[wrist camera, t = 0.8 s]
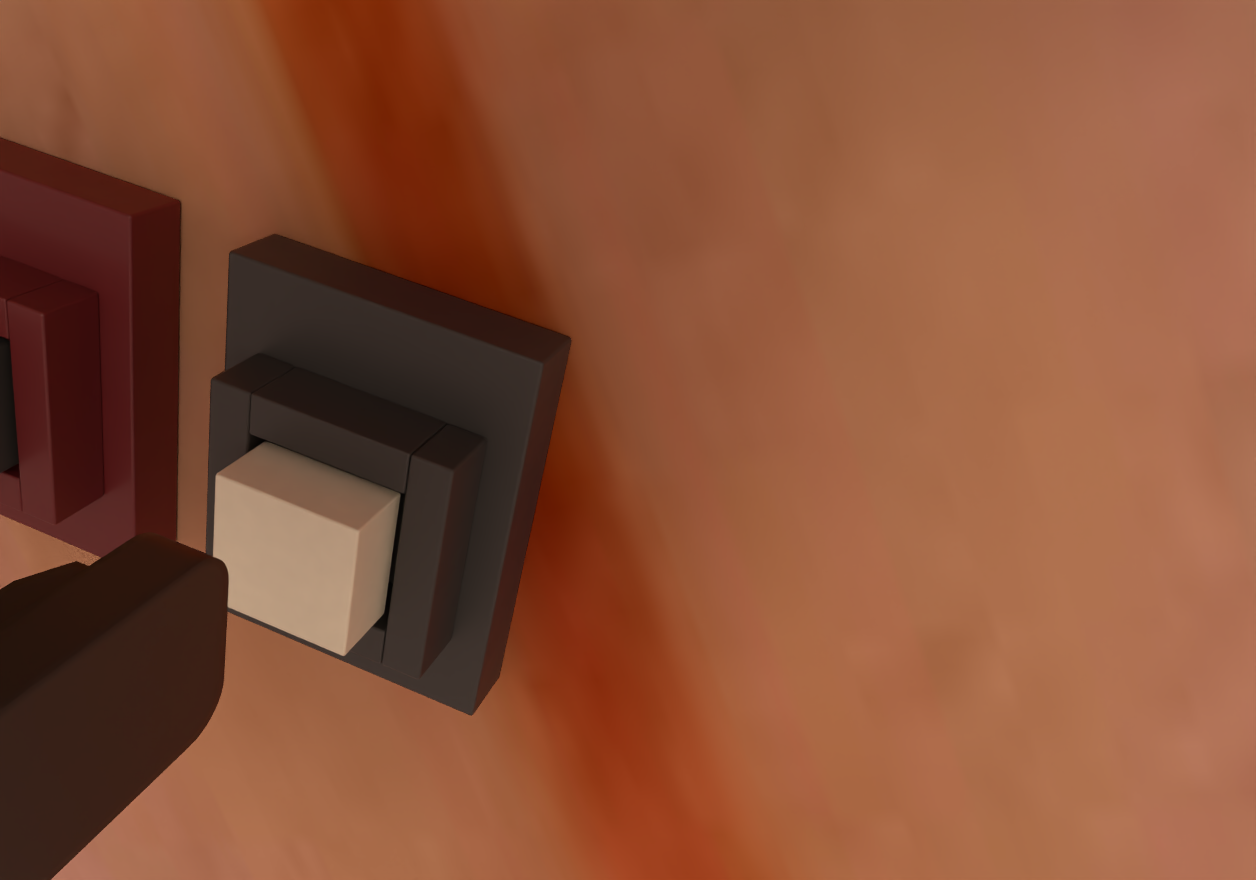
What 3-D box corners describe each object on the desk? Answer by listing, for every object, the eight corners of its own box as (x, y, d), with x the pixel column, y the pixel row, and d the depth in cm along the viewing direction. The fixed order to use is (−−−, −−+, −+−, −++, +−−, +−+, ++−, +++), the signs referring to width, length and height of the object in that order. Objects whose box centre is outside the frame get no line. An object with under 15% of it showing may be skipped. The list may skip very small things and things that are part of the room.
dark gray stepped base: (274, 232, 29) (175, 271, 25) (573, 337, 27) (510, 393, 24) (254, 574, 35) (171, 644, 31) (499, 677, 33) (440, 762, 30)
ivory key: (265, 439, 27) (214, 473, 25) (401, 492, 27) (359, 531, 25) (258, 560, 29) (210, 600, 27) (385, 613, 28) (344, 658, 27)
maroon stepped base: (-77, 109, 31) (-213, 130, 28) (181, 200, 29) (72, 234, 26) (-41, 451, 37) (-149, 503, 33) (177, 542, 35) (87, 607, 32)
